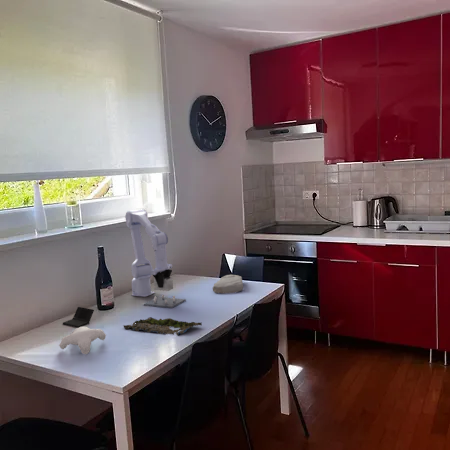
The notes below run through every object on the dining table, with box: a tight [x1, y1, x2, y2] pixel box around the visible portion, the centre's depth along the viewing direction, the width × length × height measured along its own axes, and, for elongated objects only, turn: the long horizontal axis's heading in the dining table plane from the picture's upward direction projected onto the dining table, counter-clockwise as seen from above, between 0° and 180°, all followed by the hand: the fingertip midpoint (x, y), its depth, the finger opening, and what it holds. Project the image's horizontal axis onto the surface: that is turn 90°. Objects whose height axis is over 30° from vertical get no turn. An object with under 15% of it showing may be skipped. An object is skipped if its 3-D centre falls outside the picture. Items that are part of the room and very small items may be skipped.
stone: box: [212, 274, 244, 294], centre depth 246 cm, size 21×15×5 cm
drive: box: [153, 276, 174, 292], centre depth 224 cm, size 8×4×6 cm, turn 62°
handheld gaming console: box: [62, 306, 95, 329], centre depth 205 cm, size 12×7×10 cm
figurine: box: [58, 326, 107, 355], centre depth 175 cm, size 17×9×18 cm
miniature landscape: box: [123, 317, 203, 336], centre depth 190 cm, size 32×12×3 cm, turn 64°
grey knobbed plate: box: [143, 294, 187, 309], centre depth 225 cm, size 16×12×3 cm
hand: (163, 286), depth 224 cm, fingers closed on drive, 4 cm apart
